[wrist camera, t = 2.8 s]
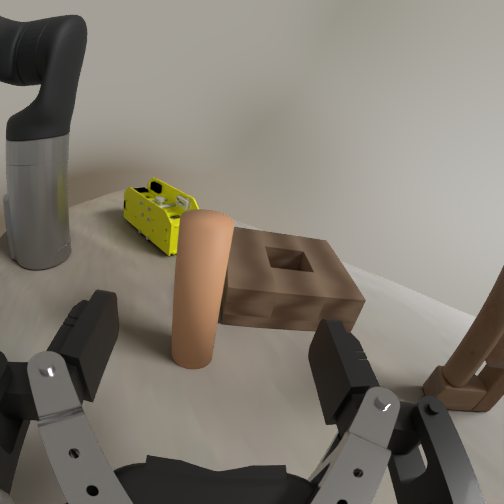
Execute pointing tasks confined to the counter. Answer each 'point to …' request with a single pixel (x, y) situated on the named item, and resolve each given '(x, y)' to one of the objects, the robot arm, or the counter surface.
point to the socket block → (286, 283)
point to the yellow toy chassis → (157, 212)
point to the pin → (199, 284)
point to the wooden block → (475, 361)
